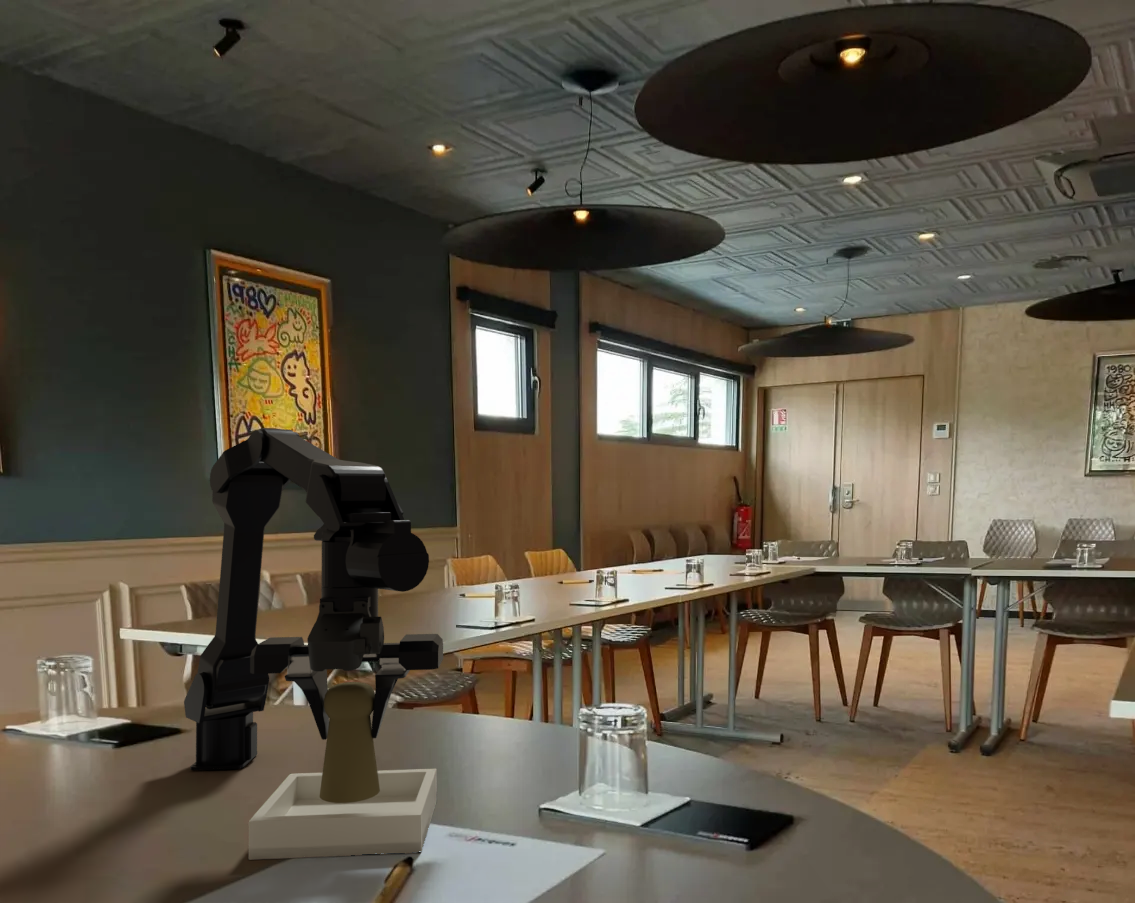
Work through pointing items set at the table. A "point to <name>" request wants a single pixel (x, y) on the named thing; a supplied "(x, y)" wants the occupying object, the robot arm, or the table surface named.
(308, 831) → the tray
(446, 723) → the table surface
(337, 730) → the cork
